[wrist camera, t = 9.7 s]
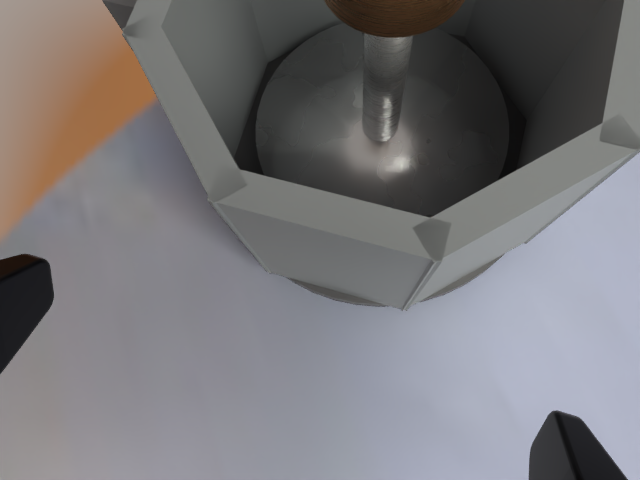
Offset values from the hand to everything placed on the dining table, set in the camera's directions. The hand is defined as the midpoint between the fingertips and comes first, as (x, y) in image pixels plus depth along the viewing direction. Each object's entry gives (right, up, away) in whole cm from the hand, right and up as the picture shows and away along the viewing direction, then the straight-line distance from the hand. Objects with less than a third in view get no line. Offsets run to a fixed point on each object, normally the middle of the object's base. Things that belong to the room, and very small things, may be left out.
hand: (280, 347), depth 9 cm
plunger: (+3, +6, +9) cm, 11 cm away
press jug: (+3, +5, +10) cm, 12 cm away
